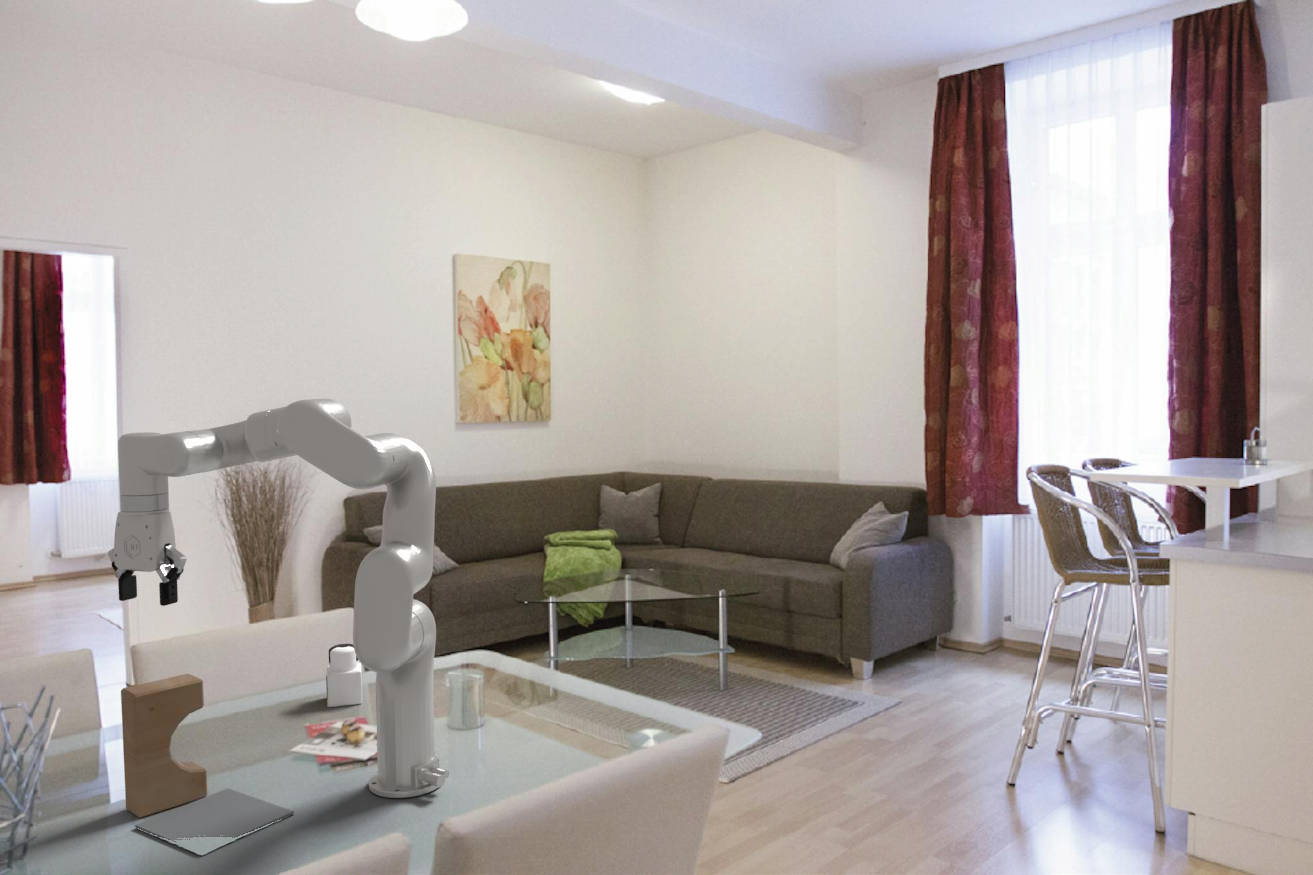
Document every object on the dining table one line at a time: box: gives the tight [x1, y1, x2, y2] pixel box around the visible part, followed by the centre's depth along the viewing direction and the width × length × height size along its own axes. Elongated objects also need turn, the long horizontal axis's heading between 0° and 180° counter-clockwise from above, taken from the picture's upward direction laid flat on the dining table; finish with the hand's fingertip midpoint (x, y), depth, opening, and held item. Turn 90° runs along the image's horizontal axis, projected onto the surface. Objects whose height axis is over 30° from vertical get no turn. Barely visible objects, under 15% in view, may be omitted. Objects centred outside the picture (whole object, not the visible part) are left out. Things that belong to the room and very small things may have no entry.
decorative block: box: [120, 673, 208, 819], centre depth 162 cm, size 11×6×20 cm, turn 137°
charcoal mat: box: [134, 787, 295, 842], centre depth 156 cm, size 17×16×1 cm
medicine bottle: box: [325, 643, 363, 708], centre depth 213 cm, size 7×7×12 cm
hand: (148, 601), depth 173 cm, fingers open, 9 cm apart
